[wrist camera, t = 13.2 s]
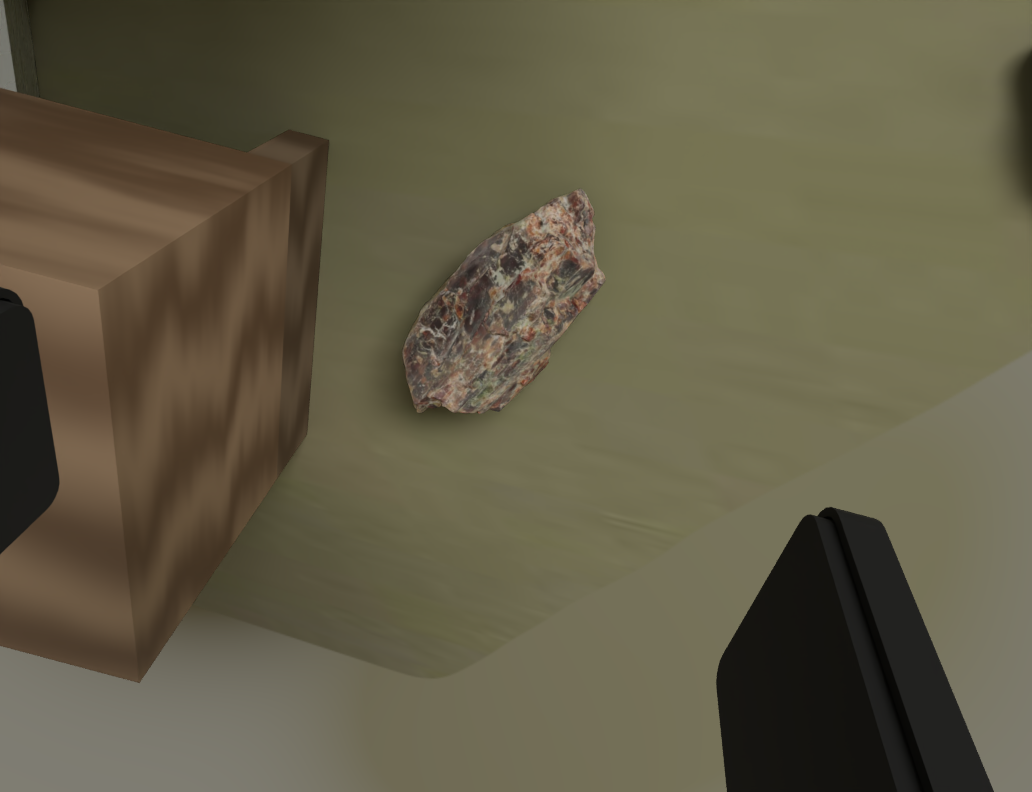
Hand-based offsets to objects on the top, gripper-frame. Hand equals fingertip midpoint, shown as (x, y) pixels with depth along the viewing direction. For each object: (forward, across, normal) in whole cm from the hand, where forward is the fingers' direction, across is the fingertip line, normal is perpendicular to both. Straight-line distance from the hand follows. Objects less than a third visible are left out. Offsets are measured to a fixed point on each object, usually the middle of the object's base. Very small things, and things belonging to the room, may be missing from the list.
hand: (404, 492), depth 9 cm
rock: (+29, +1, +10) cm, 30 cm away
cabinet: (+28, +18, +14) cm, 36 cm away
